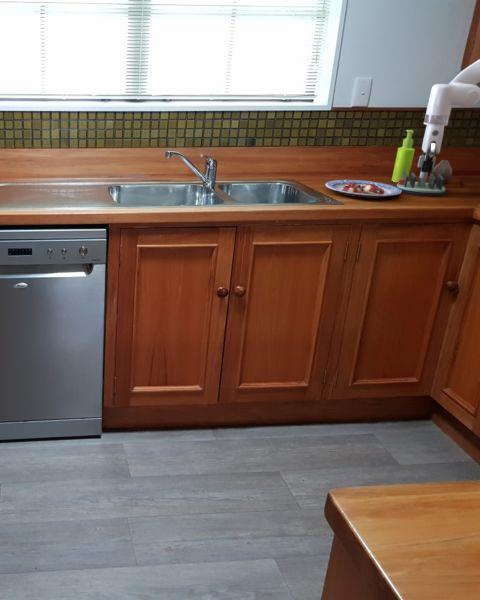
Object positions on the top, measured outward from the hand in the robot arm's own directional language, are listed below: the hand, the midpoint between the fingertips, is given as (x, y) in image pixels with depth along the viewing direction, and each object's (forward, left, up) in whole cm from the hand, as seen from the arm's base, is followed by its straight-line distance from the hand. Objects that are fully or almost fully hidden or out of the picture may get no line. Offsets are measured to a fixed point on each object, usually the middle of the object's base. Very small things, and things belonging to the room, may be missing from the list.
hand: (424, 170), depth 225 cm
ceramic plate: (+20, +12, -8) cm, 25 cm away
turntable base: (0, 0, -8) cm, 8 cm away
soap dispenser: (+5, -18, -8) cm, 21 cm away
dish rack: (0, 0, -7) cm, 7 cm away
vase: (-10, -22, -8) cm, 25 cm away
